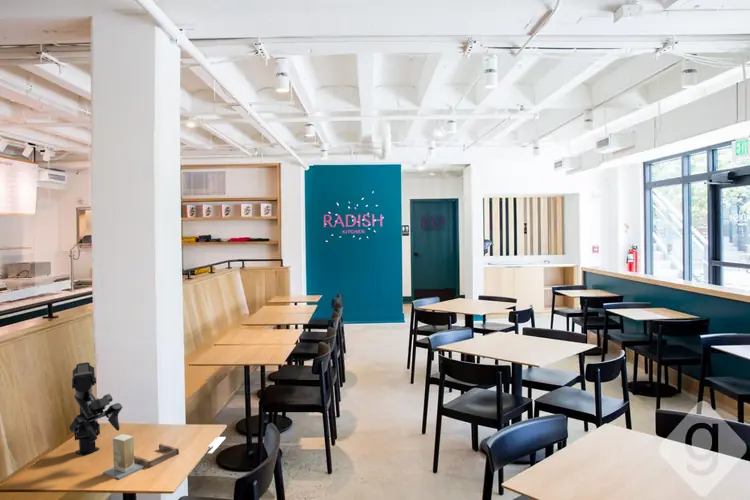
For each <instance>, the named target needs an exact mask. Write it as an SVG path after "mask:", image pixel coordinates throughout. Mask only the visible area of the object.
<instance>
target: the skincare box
mask: <svg viewBox="0 0 750 500" xmlns="http://www.w3.org/2000/svg"><path fill="white" fill-rule="evenodd" d="M134 444H135V442H134V436H133V435H128V434H124V433H121V434H119V435H117V436H115V437H112V447H113V448H112V451H113V467H114V470H117V471H121V472H127V471H129V470H131V469H133V468H134V456H135V447H134V446H135V445H134Z"/></svg>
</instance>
